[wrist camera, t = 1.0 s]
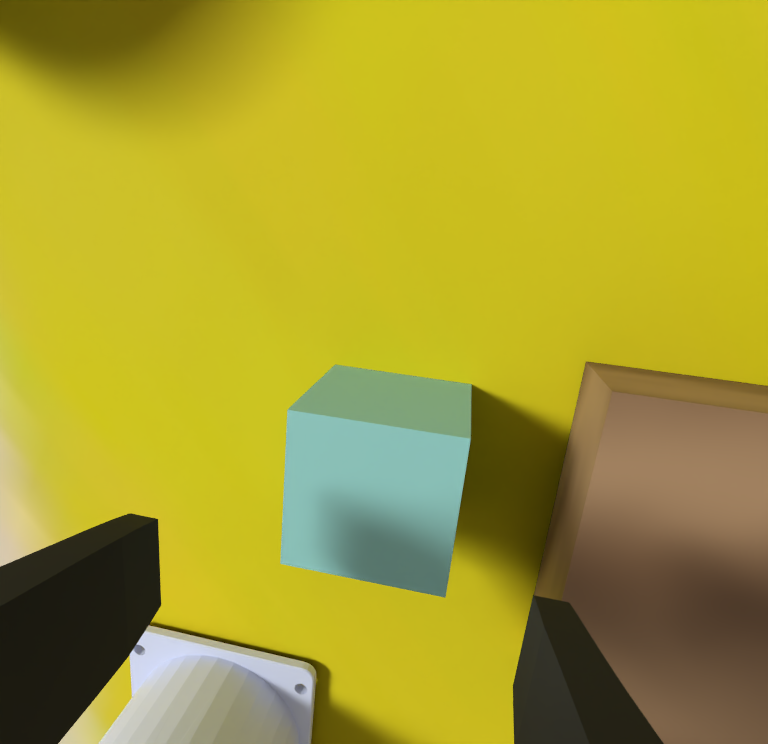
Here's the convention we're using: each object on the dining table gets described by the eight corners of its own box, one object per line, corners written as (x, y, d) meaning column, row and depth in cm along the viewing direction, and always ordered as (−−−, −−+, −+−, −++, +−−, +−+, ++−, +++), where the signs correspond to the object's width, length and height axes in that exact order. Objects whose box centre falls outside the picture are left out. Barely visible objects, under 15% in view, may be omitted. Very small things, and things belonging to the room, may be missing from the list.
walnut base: (857, 724, 17) (936, 826, 14) (521, 651, 18) (529, 729, 15) (1007, 418, 13) (1151, 468, 11) (586, 361, 15) (612, 391, 12)
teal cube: (452, 507, 17) (445, 597, 13) (327, 484, 18) (280, 563, 14) (471, 383, 16) (470, 439, 12) (335, 364, 17) (287, 409, 12)
